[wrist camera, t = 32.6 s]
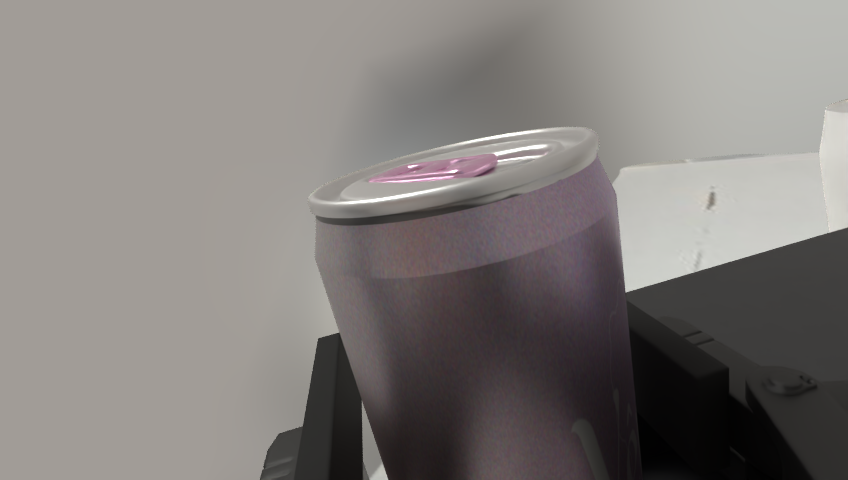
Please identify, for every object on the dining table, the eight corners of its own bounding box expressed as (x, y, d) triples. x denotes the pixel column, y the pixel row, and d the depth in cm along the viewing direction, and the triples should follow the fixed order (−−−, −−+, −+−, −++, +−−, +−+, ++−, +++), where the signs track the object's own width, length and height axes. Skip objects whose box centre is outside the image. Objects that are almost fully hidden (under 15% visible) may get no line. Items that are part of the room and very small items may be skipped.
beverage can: (507, 517, 17) (423, 145, 12) (680, 605, 13) (648, 109, 8) (415, 683, 13) (236, 211, 8) (629, 887, 9) (510, 198, 4)
